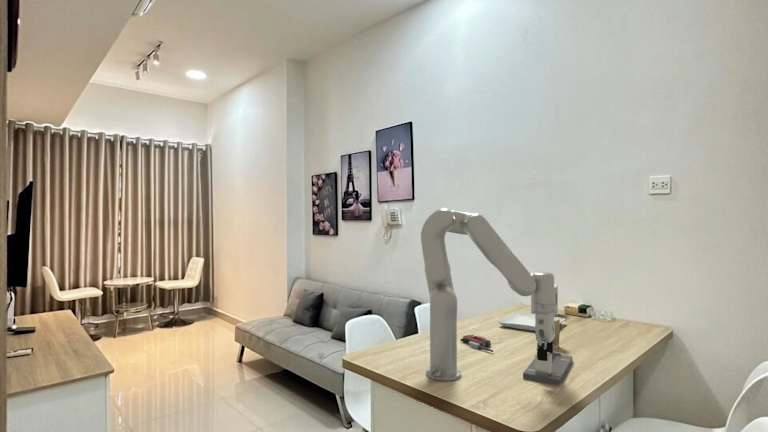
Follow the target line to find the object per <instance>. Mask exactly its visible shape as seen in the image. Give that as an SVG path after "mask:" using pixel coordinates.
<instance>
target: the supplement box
mask: <svg viewBox="0 0 768 432" xmlns="http://www.w3.org/2000/svg"><path fill="white" fill-rule="evenodd" d="M558 285H559V284H555V283H554V287H555V313H553V314H554V317H555V316H556V317H557V315H558V314H559V312H558V311H559V308H558V307H559V306H558V305H559V303H558V302H559V301H558V300H559V297H558V296H559V295H558V293H559V292H558V290H559V289H558V288H559V287H558ZM557 313H558V314H557ZM530 314H535V312H533V309H532V295H530Z"/></svg>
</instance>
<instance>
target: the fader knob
mask: <svg viewBox="0 0 768 432" xmlns="http://www.w3.org/2000/svg"><path fill="white" fill-rule="evenodd" d="M534 359H535V372H536V371H542V372H547V373H548V374H551V372H552V354H547V361H541V360H538V359H537V352H536V353H535V354H534Z"/></svg>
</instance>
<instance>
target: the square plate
mask: <svg viewBox="0 0 768 432" xmlns="http://www.w3.org/2000/svg"><path fill="white" fill-rule="evenodd" d="M554 318H555V319H560V325H561V324H562V323H563V322H564V321H566V318H564V317H563V318H562V317H558V316H556V317H554ZM498 323H499V324H500V325H501V326H503V327H505V328H509V329H517V330H522V331H528V330H529V331H530V332H535V314H531V312H530V313H529V312H518V311H517V312H516V311H515V312H513V313H511V314H509V315H508V316H506V317H505V318H503V319H501V320H500V321H498Z"/></svg>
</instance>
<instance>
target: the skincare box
mask: <svg viewBox="0 0 768 432" xmlns="http://www.w3.org/2000/svg"><path fill="white" fill-rule="evenodd" d="M554 324H555V338H554V339H553V340H552V342H553V350H554V349H555V350H556V349H558V348H559V347H560V325H561V324H560V319H555V318H554ZM542 340H544V339H542Z"/></svg>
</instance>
